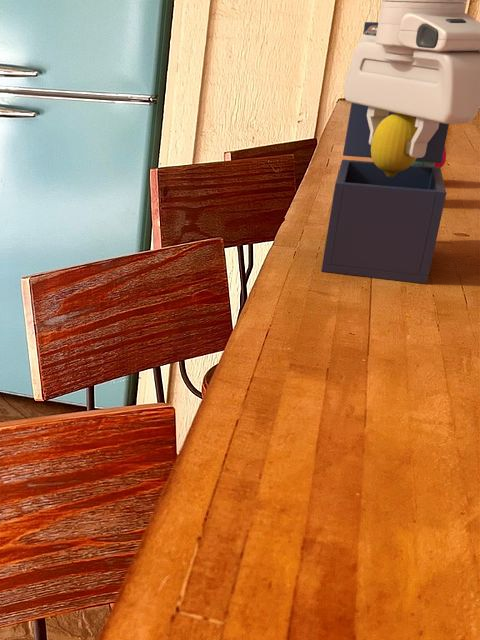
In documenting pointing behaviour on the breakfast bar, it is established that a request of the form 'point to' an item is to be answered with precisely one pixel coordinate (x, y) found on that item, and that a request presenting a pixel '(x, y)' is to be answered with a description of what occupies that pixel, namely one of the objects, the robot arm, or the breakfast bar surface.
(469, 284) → the breakfast bar surface
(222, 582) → the breakfast bar surface
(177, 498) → the breakfast bar surface
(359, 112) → the chest lid
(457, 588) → the breakfast bar surface
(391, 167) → the lemon
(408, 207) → the chest
